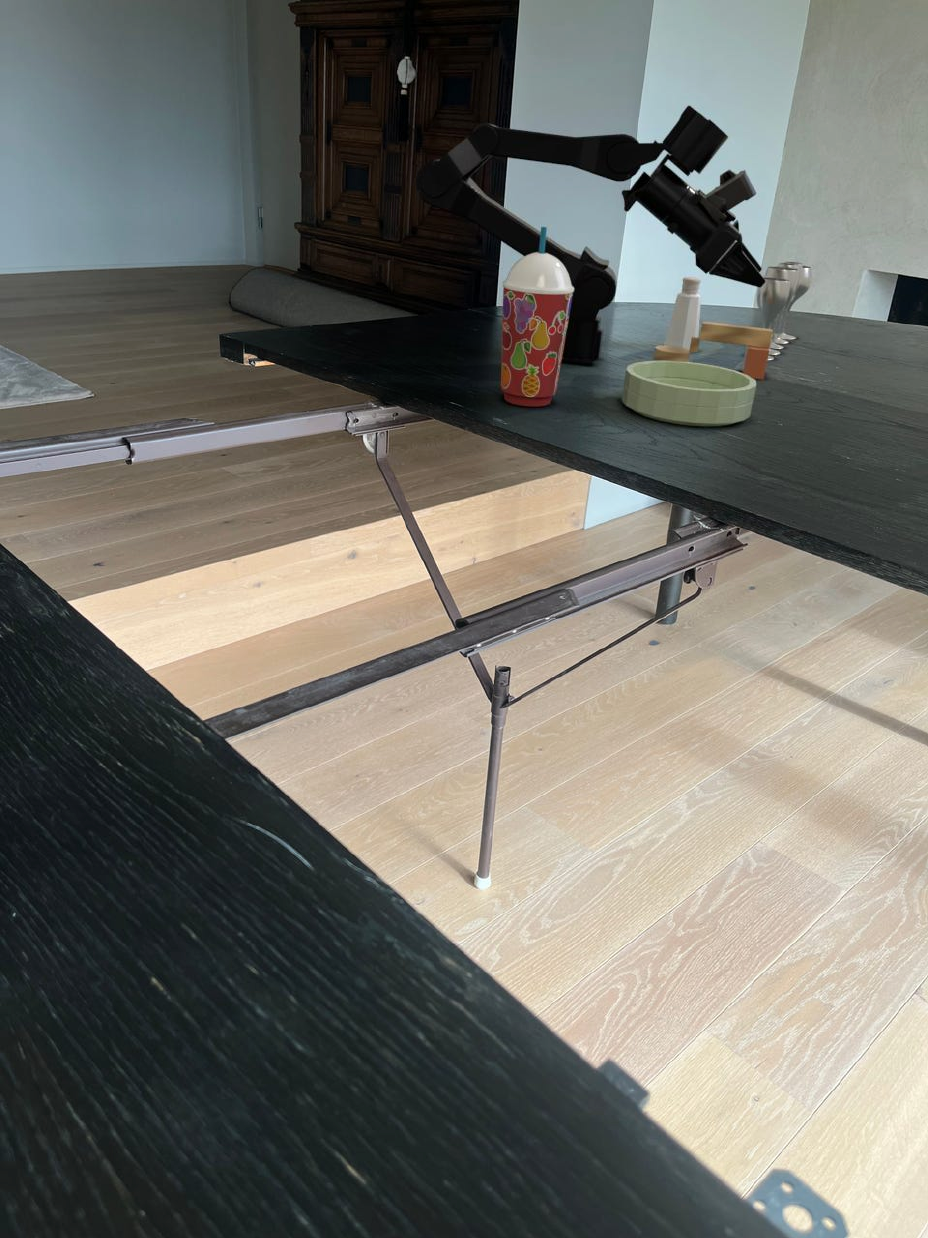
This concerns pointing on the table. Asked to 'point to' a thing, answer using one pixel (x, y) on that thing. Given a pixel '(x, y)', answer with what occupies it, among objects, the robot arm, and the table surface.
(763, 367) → the orange upright block
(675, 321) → the salt shaker
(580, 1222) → the table surface
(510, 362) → the smoothie
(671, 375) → the bowl
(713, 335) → the wooden z bracket
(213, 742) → the table surface
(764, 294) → the goblet set
